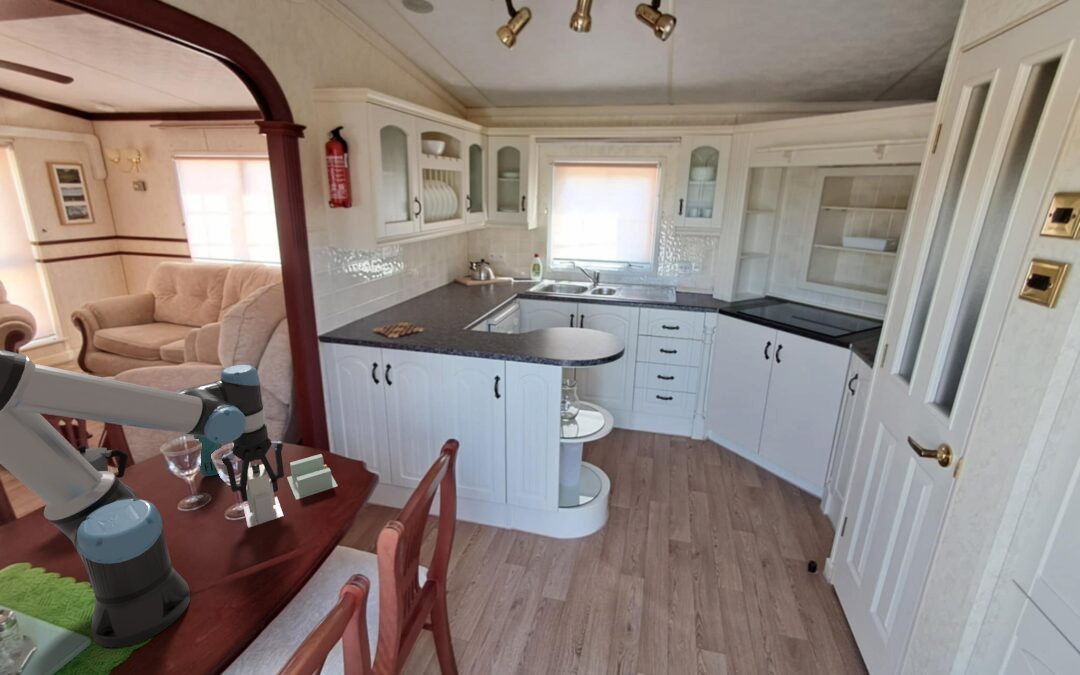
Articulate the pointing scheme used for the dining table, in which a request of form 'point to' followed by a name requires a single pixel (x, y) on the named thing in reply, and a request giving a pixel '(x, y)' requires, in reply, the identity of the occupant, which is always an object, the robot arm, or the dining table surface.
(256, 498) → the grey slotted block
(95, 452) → the coffeepot
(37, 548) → the dining table surface
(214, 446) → the beverage bottle
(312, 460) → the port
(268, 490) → the white tall block
